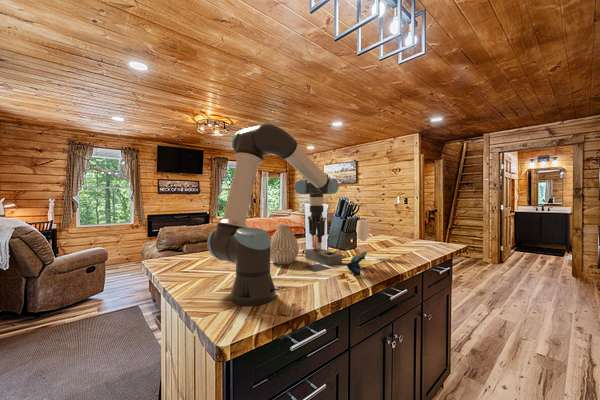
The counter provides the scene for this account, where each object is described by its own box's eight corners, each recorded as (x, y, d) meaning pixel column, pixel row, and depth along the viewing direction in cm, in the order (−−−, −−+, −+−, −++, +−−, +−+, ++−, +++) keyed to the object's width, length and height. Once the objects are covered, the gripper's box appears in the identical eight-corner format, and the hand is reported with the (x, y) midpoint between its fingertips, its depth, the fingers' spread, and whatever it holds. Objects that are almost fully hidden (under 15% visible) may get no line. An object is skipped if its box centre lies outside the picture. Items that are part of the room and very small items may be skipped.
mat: (331, 269, 122) (331, 268, 122) (314, 272, 117) (314, 271, 117) (318, 264, 131) (318, 263, 131) (302, 267, 125) (302, 266, 125)
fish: (370, 274, 114) (369, 252, 113) (350, 277, 110) (350, 254, 110) (364, 272, 118) (364, 250, 117) (344, 274, 114) (344, 252, 114)
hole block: (342, 264, 131) (342, 254, 131) (328, 266, 127) (328, 256, 126) (318, 256, 148) (318, 247, 148) (305, 258, 143) (305, 249, 143)
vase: (280, 269, 123) (280, 227, 123) (262, 262, 135) (261, 224, 135) (305, 263, 134) (304, 224, 134) (285, 257, 146) (285, 222, 146)
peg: (320, 253, 142) (320, 235, 141) (316, 253, 140) (316, 235, 140) (317, 252, 144) (317, 234, 144) (313, 252, 142) (312, 234, 142)
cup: (354, 256, 149) (354, 220, 149) (364, 255, 151) (364, 219, 151) (361, 258, 142) (361, 221, 142) (372, 257, 145) (372, 220, 144)
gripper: (331, 205, 137) (331, 249, 137) (313, 204, 150) (313, 244, 151) (320, 205, 133) (320, 251, 133) (302, 204, 146) (302, 246, 147)
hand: (316, 247), depth 142 cm, fingers open, 3 cm apart
